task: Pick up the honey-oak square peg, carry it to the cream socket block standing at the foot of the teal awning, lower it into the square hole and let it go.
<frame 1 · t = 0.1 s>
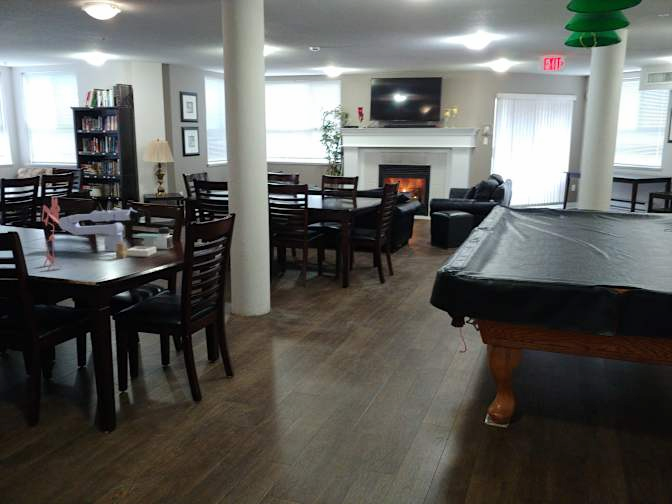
hand: (146, 213, 331), 22 cm above the table, tool horizontal, fingers open, 7 cm apart
awning: (149, 251, 336), on the table
figurine: (60, 266, 294), on the table
socket block: (141, 254, 326), on the table
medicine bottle: (164, 248, 346), on the table
oak peg: (121, 257, 317), on the table
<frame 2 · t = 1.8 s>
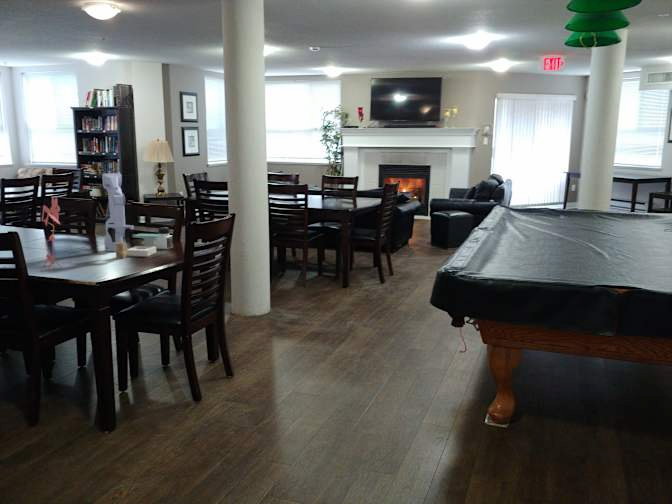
hand: (120, 242, 315), 9 cm above the table, tool pointing down, fingers open, 7 cm apart
nothing on the table moved.
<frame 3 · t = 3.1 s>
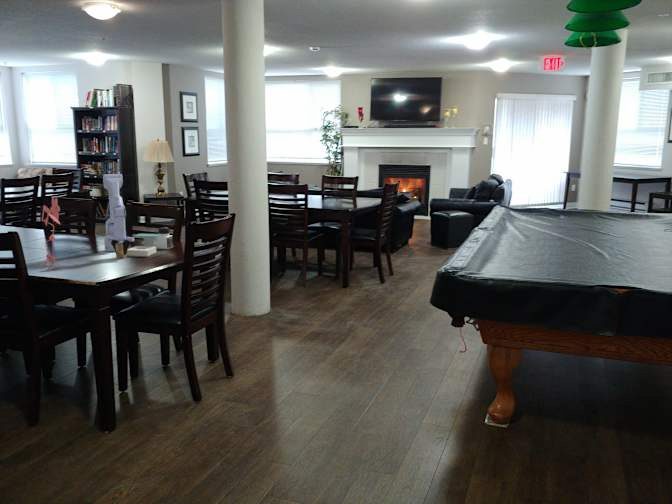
hand: (121, 254, 317), 2 cm above the table, tool pointing down, fingers closed on oak peg, 4 cm apart
oak peg: (121, 257, 317), on the table, touching gripper
everything else where it was.
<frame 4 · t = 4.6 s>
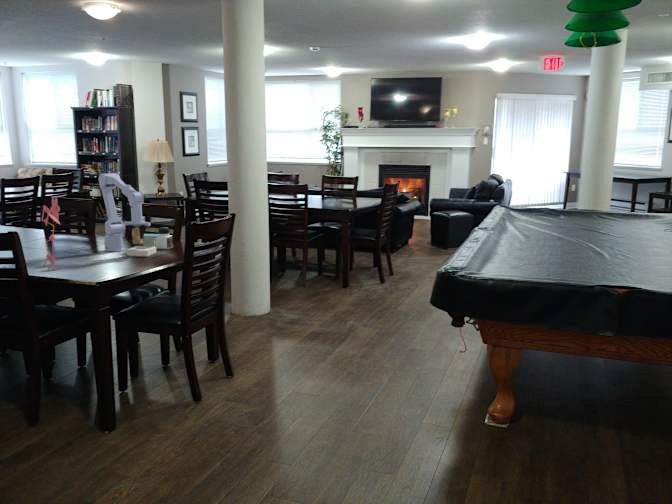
hand: (137, 238, 323), 9 cm above the table, tool pointing down, fingers closed on oak peg, 4 cm apart
oak peg: (137, 242, 323), point 7 cm above the table, touching gripper
everything else where it was.
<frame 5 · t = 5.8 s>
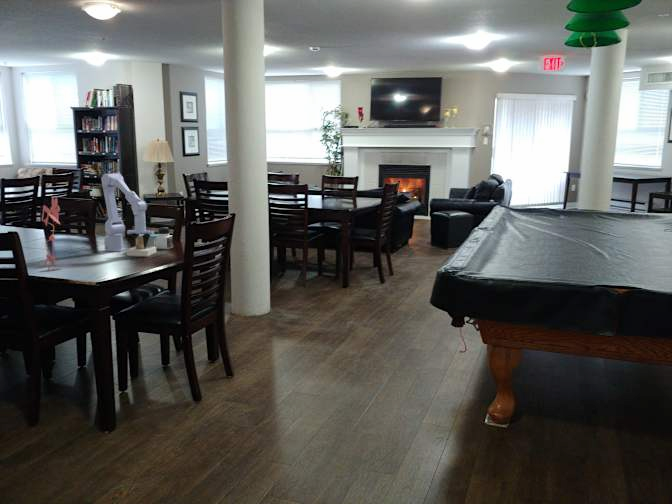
hand: (141, 247, 325), 4 cm above the table, tool pointing down, fingers closed on oak peg, 4 cm apart
oak peg: (141, 251, 326), point 2 cm above the table, touching gripper
everything else where it was.
when the fingers open (4 cm above the table, at t = 6.5 s): oak peg drops 1 cm, resting on socket block.
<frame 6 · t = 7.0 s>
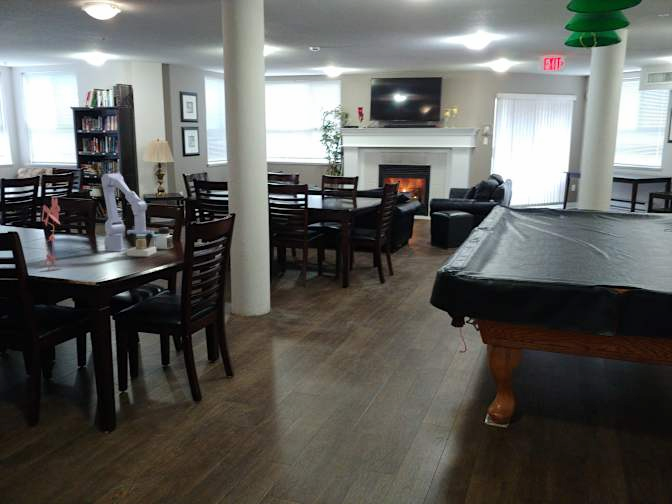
hand: (141, 247, 325), 4 cm above the table, tool pointing down, fingers open, 7 cm apart
oak peg: (141, 253, 326), resting on socket block
everything else where it was.
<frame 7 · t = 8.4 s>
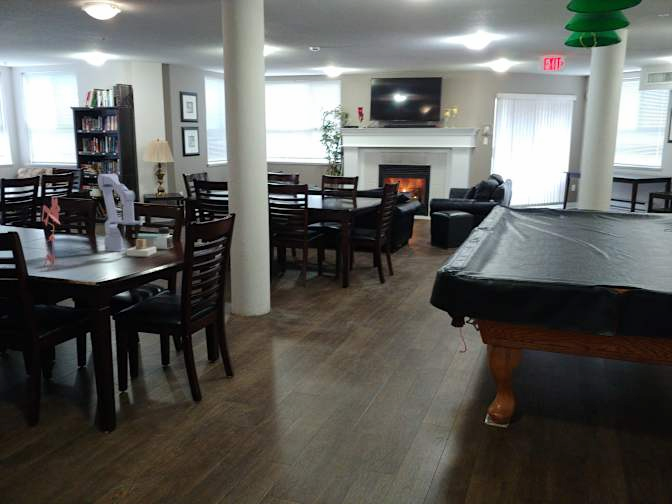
hand: (129, 237, 322), 10 cm above the table, tool pointing down, fingers open, 7 cm apart
nothing on the table moved.
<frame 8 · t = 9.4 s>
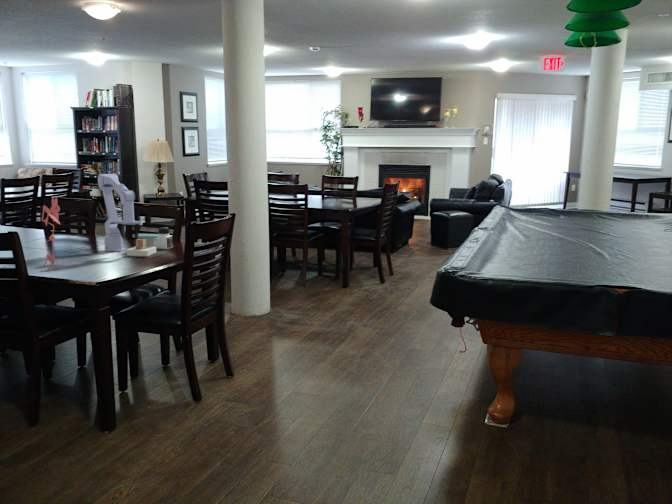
hand: (129, 237, 322), 10 cm above the table, tool pointing down, fingers open, 7 cm apart
nothing on the table moved.
at the end: oak peg 0.2 cm off-centre on the socket block, point 0.5 cm above the socket block's base; oak peg tilted 0°; the gripper is holding nothing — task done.
